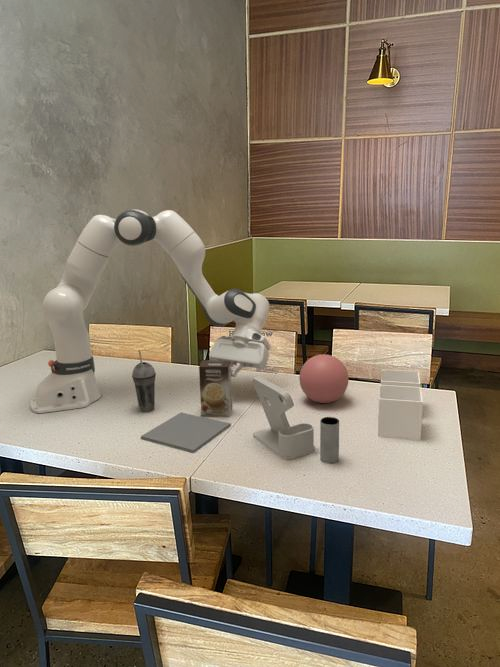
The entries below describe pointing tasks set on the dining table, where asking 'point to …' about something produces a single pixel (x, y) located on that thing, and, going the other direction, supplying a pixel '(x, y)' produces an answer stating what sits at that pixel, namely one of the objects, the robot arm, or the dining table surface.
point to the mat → (186, 432)
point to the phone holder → (281, 423)
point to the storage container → (400, 405)
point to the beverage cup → (144, 385)
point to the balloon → (323, 378)
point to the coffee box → (215, 388)
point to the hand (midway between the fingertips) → (230, 375)
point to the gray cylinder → (329, 439)
